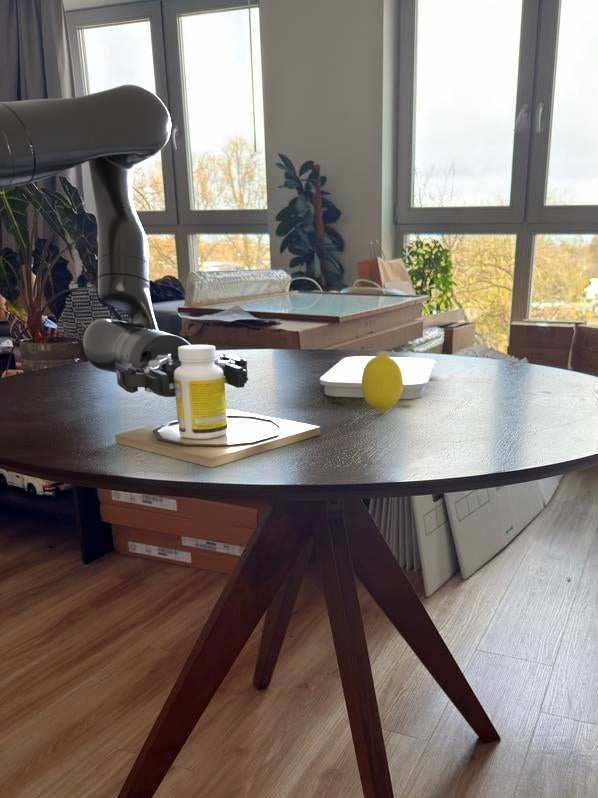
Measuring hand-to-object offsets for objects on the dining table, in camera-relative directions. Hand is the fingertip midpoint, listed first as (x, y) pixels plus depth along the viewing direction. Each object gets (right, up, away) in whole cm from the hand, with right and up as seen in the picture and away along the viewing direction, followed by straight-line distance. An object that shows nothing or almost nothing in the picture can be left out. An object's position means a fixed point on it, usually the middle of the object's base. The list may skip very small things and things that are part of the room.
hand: (204, 381), depth 78 cm
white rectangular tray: (+19, +7, +40) cm, 45 cm away
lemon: (+19, -1, +19) cm, 27 cm away
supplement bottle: (-1, -5, +4) cm, 7 cm away
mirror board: (0, -6, +6) cm, 8 cm away
